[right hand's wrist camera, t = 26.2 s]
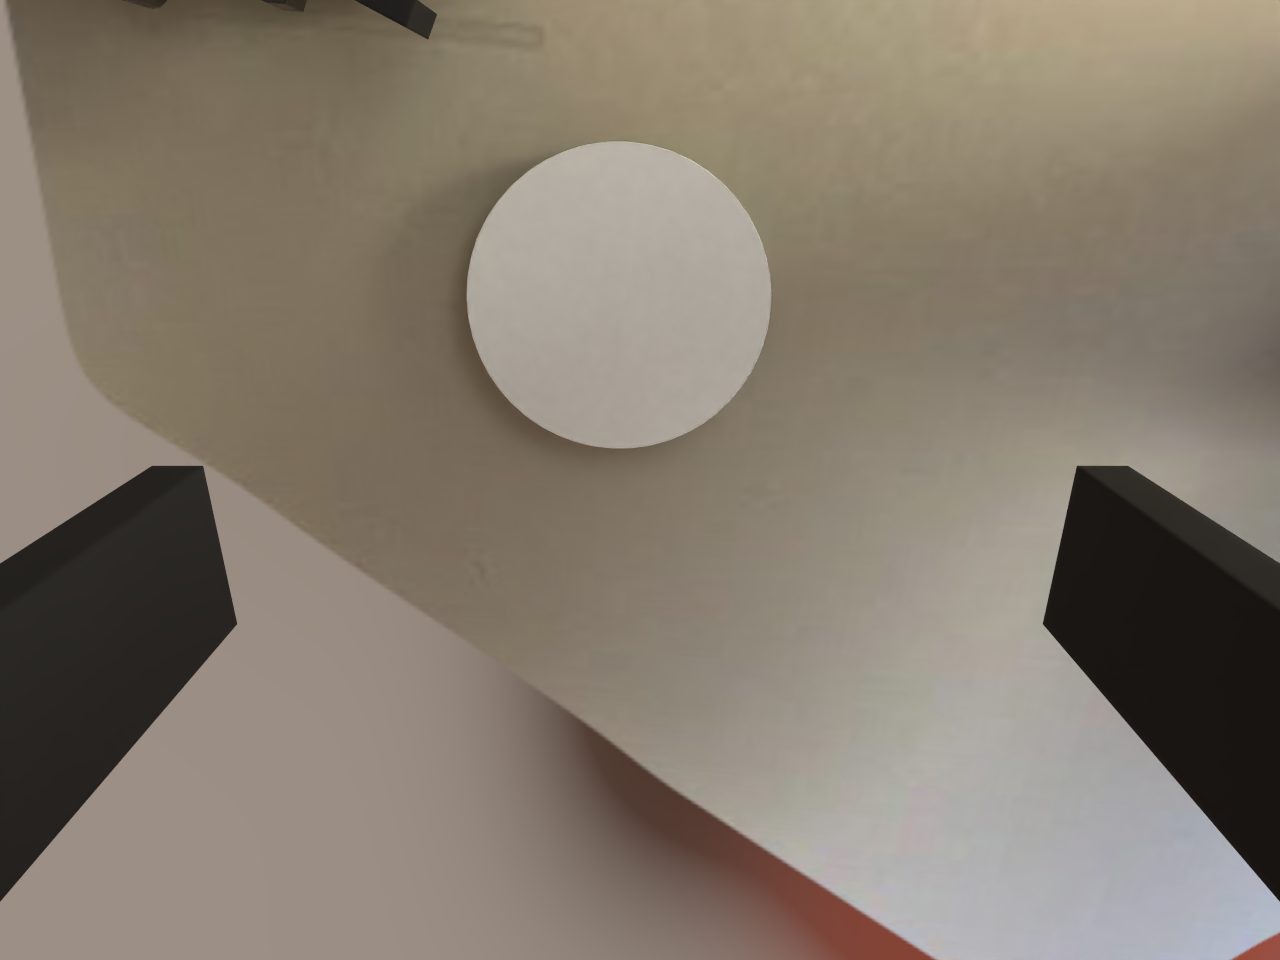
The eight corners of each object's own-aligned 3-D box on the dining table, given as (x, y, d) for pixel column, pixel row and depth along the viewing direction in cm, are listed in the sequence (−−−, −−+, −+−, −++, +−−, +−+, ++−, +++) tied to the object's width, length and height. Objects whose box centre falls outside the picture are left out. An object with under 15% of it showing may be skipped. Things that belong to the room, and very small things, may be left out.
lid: (517, 458, 35) (511, 473, 34) (437, 178, 31) (426, 179, 29) (782, 404, 35) (790, 417, 33) (739, 110, 30) (746, 108, 28)
